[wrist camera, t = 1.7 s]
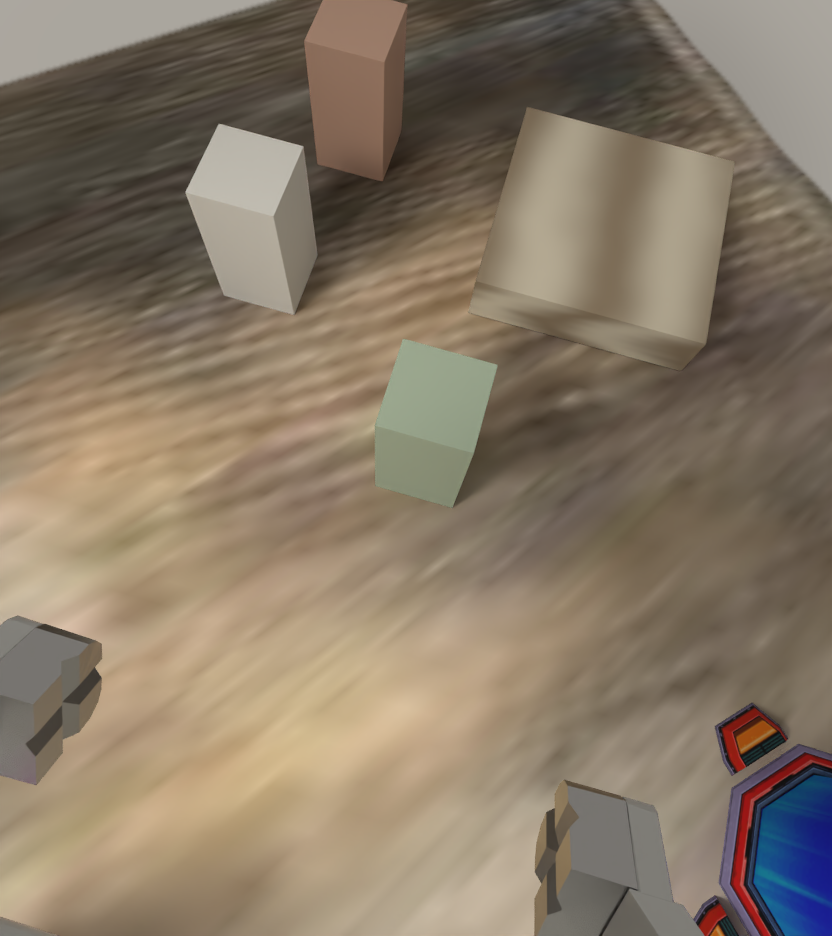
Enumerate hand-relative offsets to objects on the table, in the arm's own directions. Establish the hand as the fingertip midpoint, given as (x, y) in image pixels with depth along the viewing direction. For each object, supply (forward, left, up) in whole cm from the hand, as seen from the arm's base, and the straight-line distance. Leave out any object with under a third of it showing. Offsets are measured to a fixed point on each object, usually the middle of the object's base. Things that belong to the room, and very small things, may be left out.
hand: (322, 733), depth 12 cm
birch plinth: (+6, +27, -20) cm, 35 cm away
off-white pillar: (-11, +20, -20) cm, 31 cm away
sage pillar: (0, +12, -20) cm, 24 cm away
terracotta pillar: (-9, +30, -20) cm, 38 cm away
